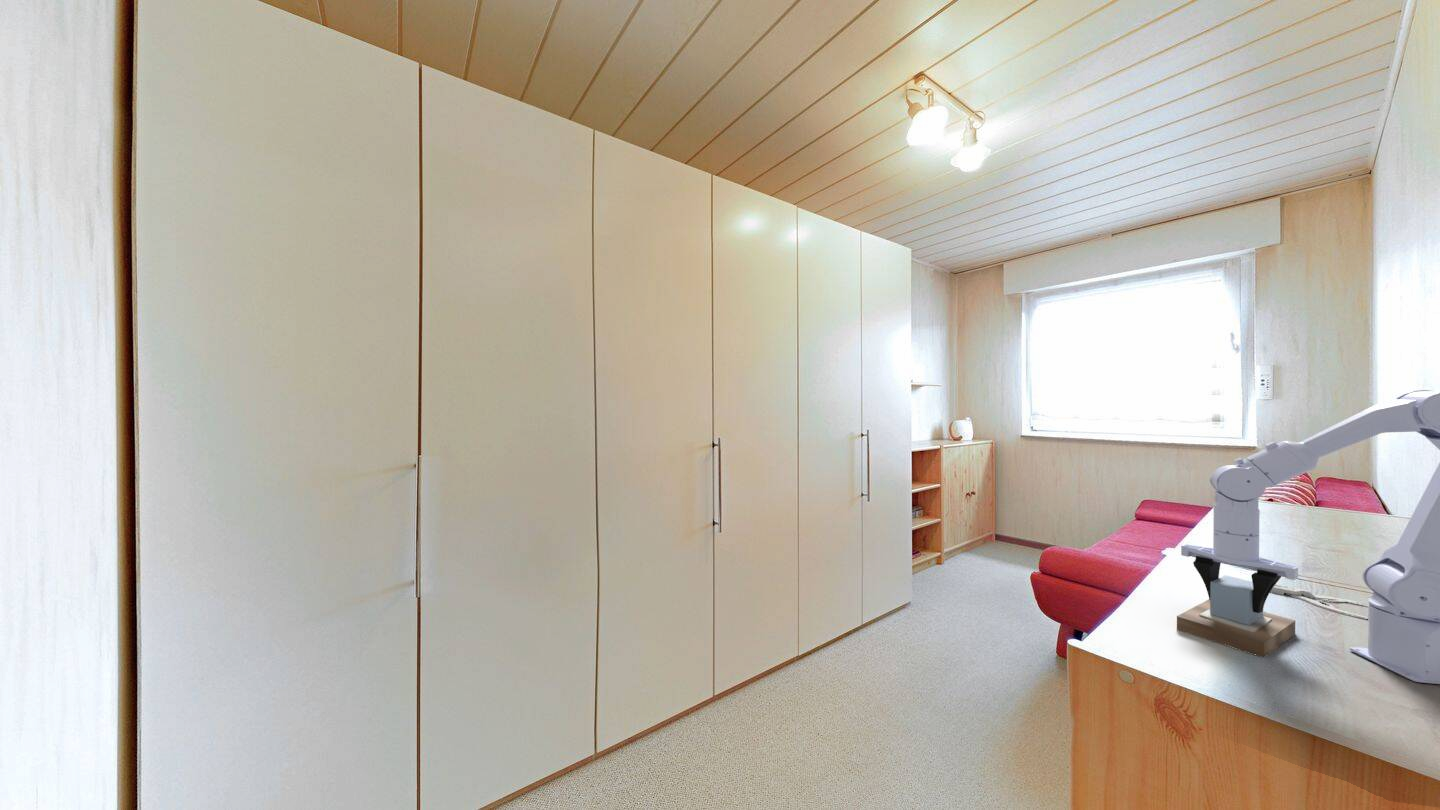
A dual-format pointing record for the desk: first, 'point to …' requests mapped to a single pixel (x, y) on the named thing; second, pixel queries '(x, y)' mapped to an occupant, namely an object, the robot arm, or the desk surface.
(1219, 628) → the stand
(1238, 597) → the block
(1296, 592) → the pliers
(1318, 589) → the desk surface
